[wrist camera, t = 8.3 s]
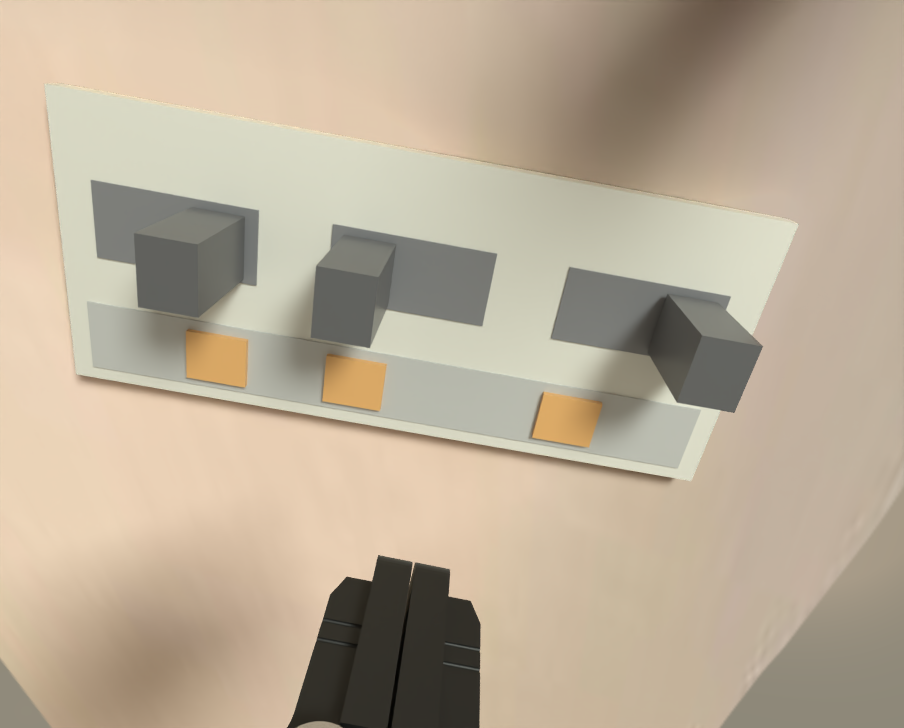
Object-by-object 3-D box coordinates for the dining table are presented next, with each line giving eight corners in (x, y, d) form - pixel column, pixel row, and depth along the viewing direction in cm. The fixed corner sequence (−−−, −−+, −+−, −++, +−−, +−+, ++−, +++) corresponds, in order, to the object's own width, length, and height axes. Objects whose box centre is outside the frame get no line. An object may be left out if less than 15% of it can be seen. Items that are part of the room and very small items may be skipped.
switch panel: (62, 83, 27) (37, 83, 26) (786, 218, 28) (803, 226, 26) (89, 364, 33) (71, 377, 32) (684, 468, 34) (693, 485, 32)
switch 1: (191, 206, 27) (133, 233, 23) (244, 216, 27) (197, 244, 23) (192, 270, 29) (137, 307, 24) (243, 279, 29) (198, 317, 24)
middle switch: (344, 234, 28) (316, 265, 23) (396, 244, 28) (378, 277, 23) (338, 296, 29) (310, 337, 24) (388, 305, 29) (369, 348, 24)
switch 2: (667, 293, 28) (702, 335, 23) (718, 302, 28) (762, 346, 24) (647, 352, 29) (676, 402, 25) (696, 360, 29) (734, 412, 25)
